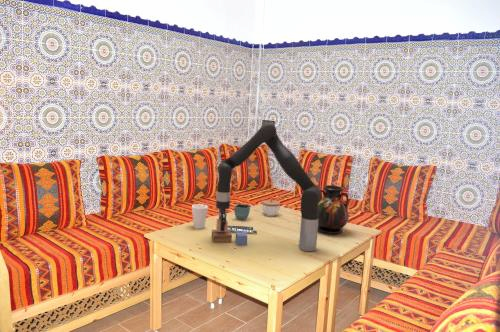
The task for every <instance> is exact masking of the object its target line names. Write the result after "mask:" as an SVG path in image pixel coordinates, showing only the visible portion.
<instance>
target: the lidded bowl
mask: <svg viewBox="0 0 500 332" xmlns="http://www.w3.org/2000/svg"><path fill="white" fill-rule="evenodd" d="M261 206H262V207H261V208H262V212H263V214H264V215H265V216H267V217H275V215H277V214H279V212H280V208H281V202H280V201H278V200H275V199H274V200H273V199H265V200H262V202H261Z"/></svg>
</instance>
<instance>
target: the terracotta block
mask: <svg viewBox="0 0 500 332" xmlns="http://www.w3.org/2000/svg"><path fill="white" fill-rule="evenodd" d="M222 222H224V221H222ZM220 223H221V220H220V219H219V218H216V224H215V225H216V229H215V230H217V232H227V229H228V223H229V222H228V220H227V218H226V224H225V230H224V231H221V230H220V229H221V224H220Z"/></svg>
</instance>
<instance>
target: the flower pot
mask: <svg viewBox="0 0 500 332" xmlns="http://www.w3.org/2000/svg"><path fill="white" fill-rule="evenodd" d="M233 211H234V216H235V218H236V220H237V221H246V220H247V219H248V217H249V215H250V212H251V205H250V204H241V203H237V204H236V205H235V206H234V207H233Z"/></svg>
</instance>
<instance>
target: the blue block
mask: <svg viewBox="0 0 500 332" xmlns="http://www.w3.org/2000/svg"><path fill="white" fill-rule="evenodd" d="M234 241H235V245H236V246H247V245H248V234H247V232H245V231H244V232H243V231H242V232H239V231H238V232H237V231H236V232H235V240H234Z"/></svg>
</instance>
